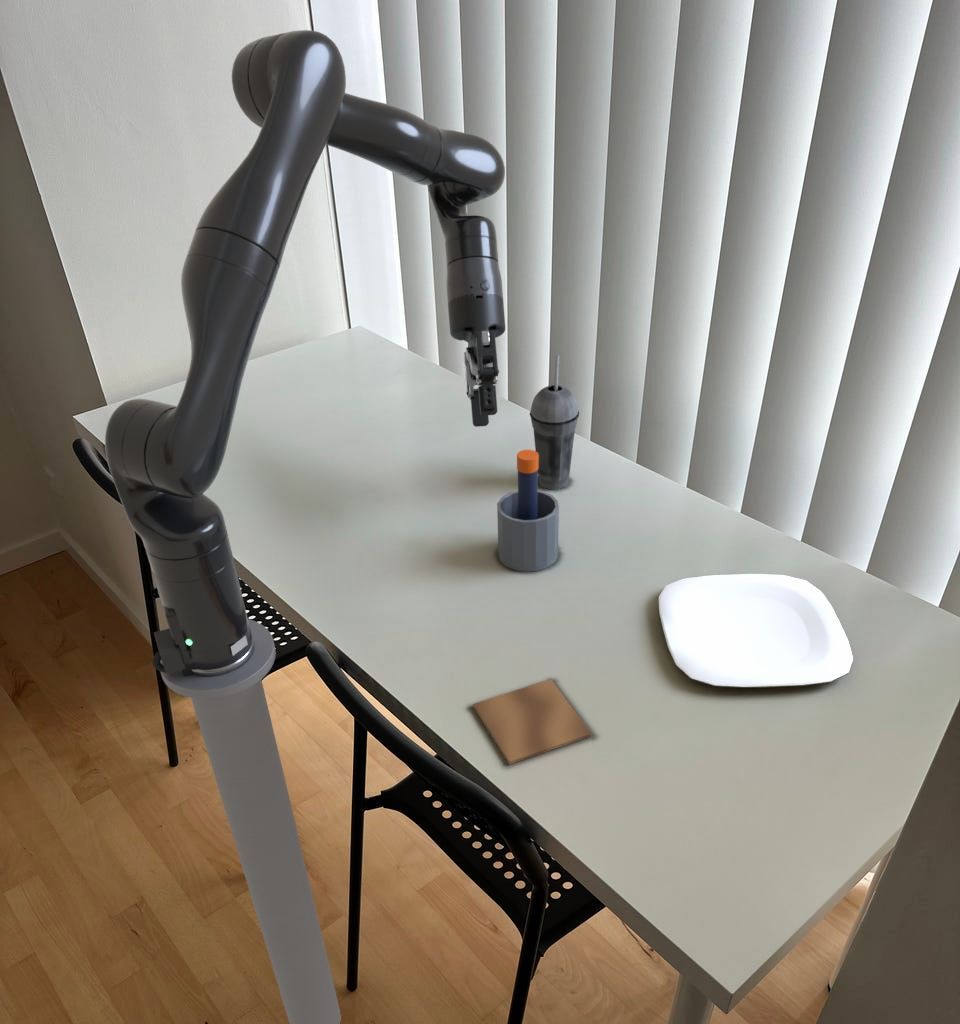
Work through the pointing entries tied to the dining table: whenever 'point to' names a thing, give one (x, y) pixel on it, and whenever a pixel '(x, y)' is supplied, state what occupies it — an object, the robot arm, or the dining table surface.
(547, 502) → the pot
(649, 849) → the dining table surface
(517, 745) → the mat
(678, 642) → the plate
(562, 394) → the beverage cup
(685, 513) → the dining table surface
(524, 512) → the marker
